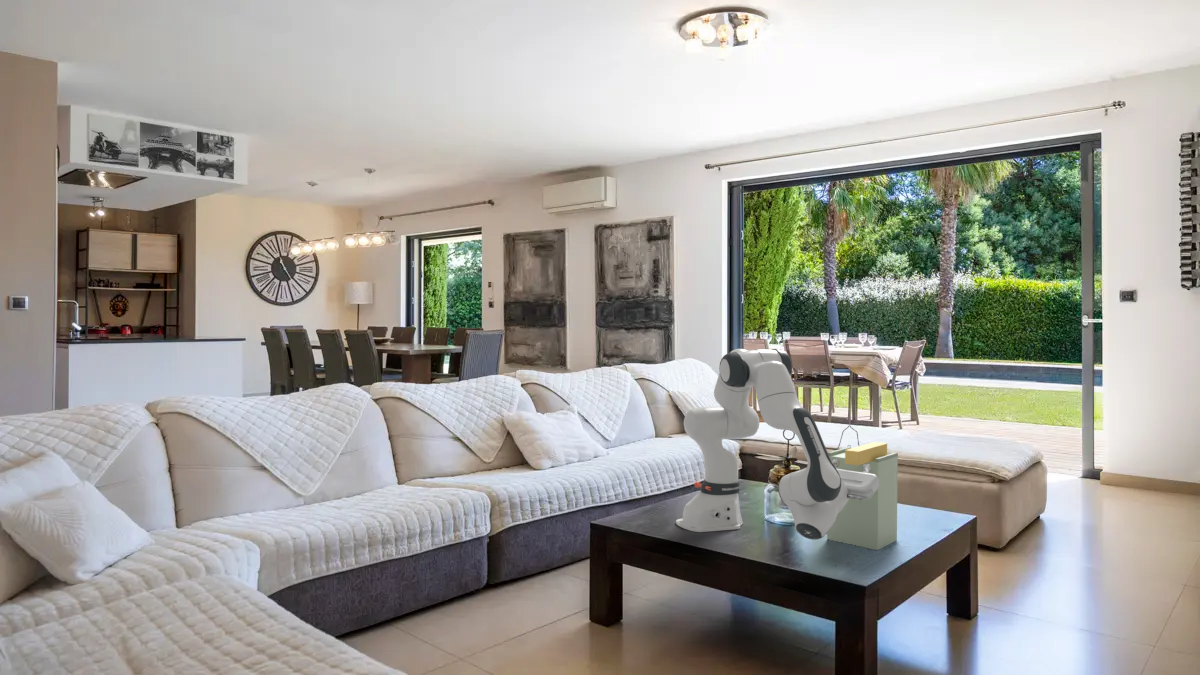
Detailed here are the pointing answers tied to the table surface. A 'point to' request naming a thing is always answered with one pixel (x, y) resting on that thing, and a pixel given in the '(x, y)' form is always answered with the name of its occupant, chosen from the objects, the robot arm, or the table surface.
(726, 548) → the table surface
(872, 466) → the sage green slotted block
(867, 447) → the bar
